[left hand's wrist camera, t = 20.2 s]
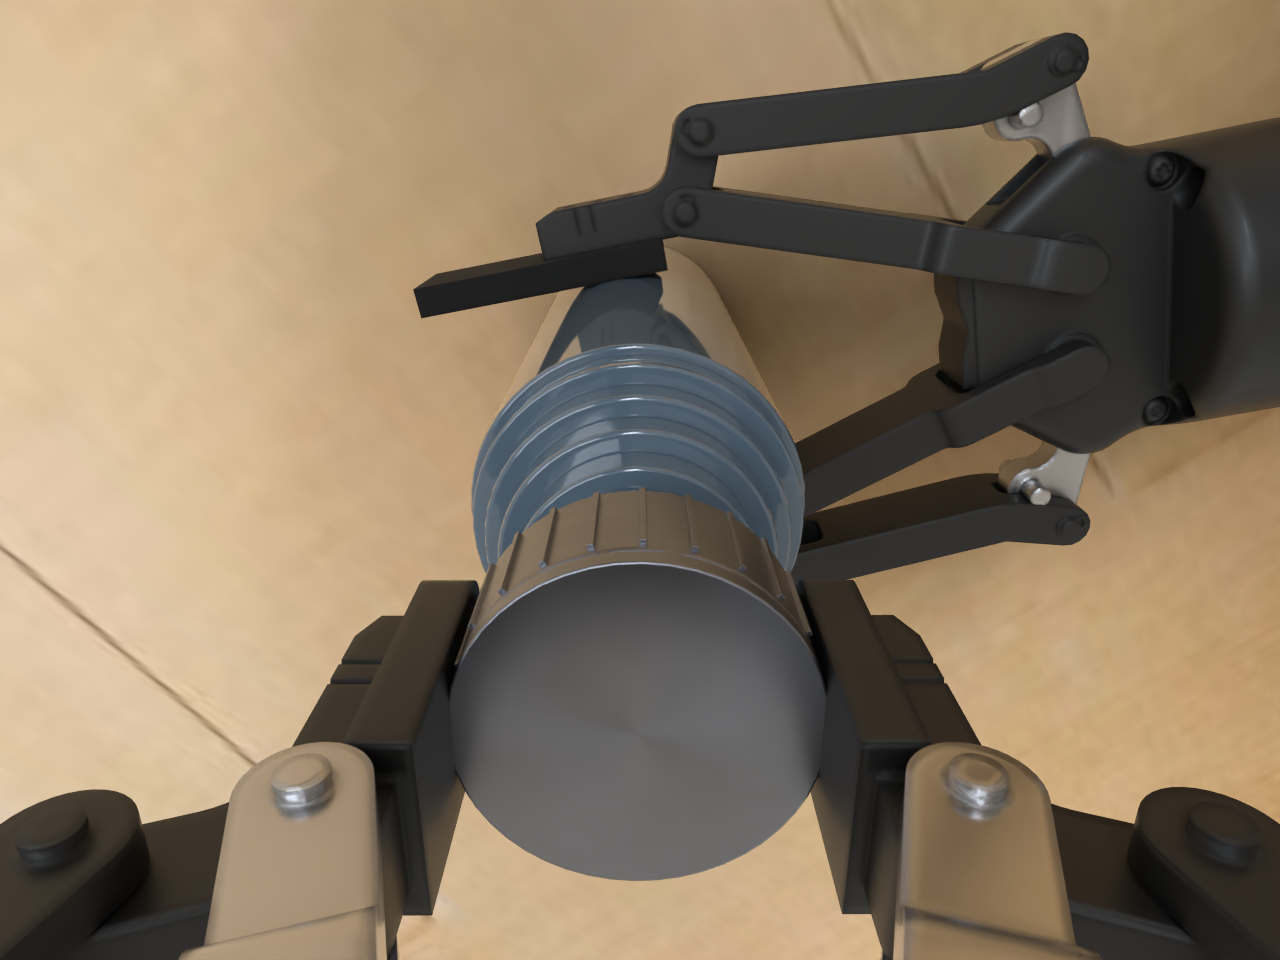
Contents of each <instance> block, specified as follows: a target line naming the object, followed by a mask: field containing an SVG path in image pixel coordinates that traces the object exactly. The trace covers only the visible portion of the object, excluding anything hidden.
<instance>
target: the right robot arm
mask: <svg viewBox="0 0 1280 960" xmlns="http://www.w3.org/2000/svg"><path fill="white" fill-rule="evenodd" d="M1088 60H1089V54H1088V47H1087V45H1086V43H1085V42H1084V40H1083V39H1082V38H1081V37H1079V36H1078V35H1076V34H1072V33H1062V34H1058V35H1054V36H1048V37H1044V38H1040V39H1036V40H1033V41H1029V42H1025V43H1021V44H1018V45H1015V46H1013V47H1011V48H1009V49H1007V50H1005V51H1003V52H1001V53H999V54H997V55H995V56H993V57H991V58H989V59H987V60H985V61H983V62H981V63H979V64H977V65H975V66H973V67H971V68H969V69H967V70H965V71H963V72H961V73H959V74H951V75H942V76H934V77H925V78H917V79H908V80H900V81H891V82H883V83H874V84H866V85H857V86H849V87H840V88H832V89H823V90H815V91H806V92H798V93H789V94H780V95H772V96H763V97H755V98H746V99H738V100H729V101H721V102H712V103H704V104H697V105H694V106H691V107H688V108H686V109H685V110H683V111H682V112H681V113H680V114H679V115H678V116H677V117H676V119H675V121H674V123H673V125H672V133H671V139H670V145H669V152H668V158H667V164H666V168H665V171H664V173H663V175H662V177H661V179H660V180H659V181H658V182H657V183H656V184H655V185H653V186H652V187H650V188H649V189H646V190H643V191H638V192H633V193H628V194H623V195H618V196H613V197H608V198H603V199H598V200H594V201H588V202H583V203H579V204H573V205H568V206H563V207H558V208H557V209H555V210H554V211H552V212H551V213H549V214H548V215H546V216H545V217H543V218H542V219H541V220H539V221H538V222H537V223H536V227H537V232H538V236H539V241H540V245H541V250H542V253H540V254H535V255H530V256H525V257H520V258H515V259H510V260H505V261H500V262H495V263H490V264H485V265H480V266H474V267H469V268H464V269H459V270H454V271H449V272H444V273H439V274H436V275H434V276H433V277H431V278H430V279H428V280H427V281H425V282H424V283H422V284H421V285H419V286H418V287H416V288H415V289H413V290H414V294H415V297H416V301H417V304H418V308H419V311H420V315H421V318H425V317H430V316H435V315H441V314H446V313H451V312H456V311H461V310H466V309H472V308H477V307H482V306H487V305H492V304H497V303H503V302H508V301H513V300H518V299H523V298H528V297H534V296H539V295H544V294H549V293H554V292H559V291H564V290H570V289H575V288H580V287H585V286H590V285H595V284H601V283H606V282H611V281H616V280H621V279H626V278H632V277H637V276H642V275H647V274H652V273H657V272H663V271H668V267H667V262H666V256H665V250H664V245H663V239H668V238H673V237H678V236H680V237H686V238H693V239H700V240H708V241H715V242H722V243H730V244H737V245H744V246H751V247H759V248H766V249H773V250H781V251H788V252H795V253H802V254H810V255H817V256H824V257H832V258H839V259H846V260H853V261H861V262H868V263H875V264H883V265H890V266H897V267H904V268H912V269H918V270H923V271H927V272H931V273H934V287H935V294H936V296H937V299H938V302H939V305H940V307H941V310H942V313H943V316H944V321H943V326H942V331H941V336H940V341H939V360H940V363H939V364H937V365H935V366H933V367H931V368H929V369H927V370H925V371H923V372H921V373H919V374H917V375H916V376H914V377H913V378H912V379H910V380H909V382H908V384H907V385H906V386H905V387H904V388H903V389H901V390H899V391H897V392H895V393H893V394H891V395H889V396H887V397H885V398H883V399H881V400H879V401H877V402H875V403H874V404H872V405H870V406H868V407H866V408H864V409H862V410H860V411H858V412H856V413H854V414H852V415H850V416H848V417H846V418H844V419H842V420H840V421H838V422H836V423H834V424H832V425H830V426H828V427H826V428H825V429H823V430H821V431H819V432H817V433H815V434H813V435H811V436H809V437H807V438H805V439H803V440H801V441H799V442H797V443H795V446H796V449H797V452H798V455H799V458H800V462H801V465H802V471H803V477H804V484H805V510H804V517H803V529H802V537H801V543H800V547H799V551H798V554H797V558H796V561H795V564H794V566H793V568H792V571H791V574H792V577H793V579H794V582H795V585H796V588H797V584H798V582H799V580H846V579H851V578H855V577H859V576H863V575H867V574H872V573H876V572H880V571H884V570H888V569H892V568H897V567H901V566H905V565H909V564H913V563H917V562H922V561H926V560H930V559H934V558H938V557H943V556H947V555H951V554H955V553H959V552H963V551H968V550H972V549H976V548H980V547H984V546H989V545H993V544H997V543H1001V542H1005V541H1010V542H1024V543H1038V544H1051V545H1072V544H1074V543H1076V542H1078V541H1080V540H1081V539H1082V538H1083V537H1084V536H1086V534H1087V532H1088V530H1089V528H1090V519H1089V517H1088V514H1087V513H1086V512H1085V511H1083V510H1082V509H1081V508H1080V507H1079V506H1077V499H1078V496H1079V492H1080V489H1081V485H1082V481H1083V478H1084V474H1085V471H1086V467H1087V464H1088V460H1089V457H1090V453H1094V452H1098V451H1100V450H1103V449H1105V448H1107V447H1109V446H1110V445H1112V444H1113V443H1115V442H1116V441H1117V440H1119V439H1120V438H1122V437H1124V436H1125V435H1127V434H1129V433H1131V432H1133V431H1135V430H1138V429H1140V428H1143V427H1148V426H1155V425H1168V424H1179V423H1188V422H1195V421H1201V420H1206V419H1212V418H1218V417H1224V416H1229V415H1235V414H1241V413H1246V412H1252V411H1258V410H1263V409H1269V408H1275V407H1280V118H1273V119H1268V120H1263V121H1258V122H1253V123H1248V124H1242V125H1237V126H1232V127H1227V128H1222V129H1217V130H1212V131H1207V132H1202V133H1197V134H1192V135H1187V136H1182V137H1177V138H1172V139H1166V140H1161V141H1156V142H1151V143H1146V144H1141V145H1136V146H1124V145H1121V144H1118V143H1115V142H1113V141H1110V140H1108V139H1104V138H1099V137H1091V136H1090V132H1089V129H1088V125H1087V122H1086V118H1085V115H1084V111H1083V108H1082V104H1081V101H1080V97H1079V94H1078V90H1077V86H1076V83H1075V82H1076V81H1078V80H1079V79H1080V78H1081V76H1082V75H1083V73H1084V72H1085V70H1086V67H1087V64H1088ZM980 124H982V125H983V128H984V130H985V132H986V133H987V134H988V135H989V136H990V137H991V138H993V139H995V140H1000V141H1019V140H1024V139H1025V140H1027V141H1029V142H1030V143H1031V144H1032V145H1033V146H1034V147H1035V149H1036V151H1037V154H1036V155H1035V156H1034V157H1033V158H1032V159H1031V160H1030V161H1029V162H1028V163H1027V164H1026V165H1025V166H1024V167H1023V168H1022V169H1021V170H1020V171H1019V172H1018V173H1017V174H1016V175H1015V176H1014V177H1013V178H1011V179H1010V180H1009V181H1008V182H1007V183H1006V184H1005V185H1004V186H1003V187H1002V188H1001V189H1000V190H999V191H998V192H997V193H996V194H995V195H994V196H993V197H992V198H991V199H990V200H989V201H988V202H987V203H986V204H984V205H983V206H982V207H981V208H980V209H979V210H978V211H977V212H976V213H975V214H974V215H973V216H972V217H971V218H970V219H969V220H968V221H962V220H955V219H948V218H941V217H933V216H926V215H919V214H911V213H899V212H892V211H885V210H878V209H871V208H864V207H856V206H849V205H842V204H835V203H828V202H821V201H814V200H806V199H799V198H792V197H785V196H778V195H771V194H764V193H757V192H749V191H742V190H735V189H728V188H721V187H714V186H713V182H714V176H715V171H716V165H717V160H718V155H727V154H735V153H744V152H753V151H761V150H770V149H779V148H787V147H796V146H805V145H814V144H822V143H831V142H840V141H848V140H857V139H866V138H875V137H883V136H892V135H901V134H909V133H918V132H927V131H935V130H944V129H953V128H962V127H968V126H974V125H980ZM1010 425H1012V426H1014V427H1016V428H1018V429H1020V430H1022V431H1024V432H1026V433H1028V434H1030V435H1032V436H1034V437H1036V438H1039V439H1041V440H1043V442H1042V445H1041V446H1040V448H1039V449H1038V450H1037V451H1036V452H1035V453H1033V454H1032V455H1030V456H1027V457H1024V458H1018V459H1014V460H1006V461H1004V462H1003V463H1002V464H1001V465H1000V468H999V474H991V473H985V474H974V475H967V476H962V477H957V478H952V479H948V480H944V481H940V482H936V483H932V484H928V485H924V486H920V487H916V488H912V489H908V490H904V491H900V492H896V493H892V494H888V495H884V496H880V497H876V498H872V499H868V500H864V501H860V502H856V503H852V504H848V505H844V506H839V507H835V508H831V509H827V510H823V511H819V512H816V511H818V510H821V509H823V508H825V507H827V506H829V505H831V504H833V503H835V502H837V501H839V500H841V499H843V498H845V497H847V496H849V495H851V494H853V493H855V492H857V491H859V490H861V489H863V488H865V487H867V486H869V485H871V484H873V483H875V482H877V481H879V480H881V479H884V478H886V477H888V476H890V475H892V474H894V473H896V472H898V471H900V470H902V469H904V468H906V467H908V466H910V465H912V464H914V463H916V462H918V461H920V460H922V459H924V458H926V457H928V456H930V455H932V454H934V453H936V452H938V451H940V450H943V449H945V448H960V447H965V446H968V445H971V444H973V443H975V442H977V441H979V440H981V439H983V438H985V437H987V436H989V435H992V434H994V433H996V432H998V431H1000V430H1002V429H1004V428H1006V427H1008V426H1010ZM814 512H815V513H814Z"/></svg>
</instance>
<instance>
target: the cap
mask: <svg viewBox="0 0 1280 960" xmlns="http://www.w3.org/2000/svg"><path fill="white" fill-rule="evenodd" d="M810 636H813V634H812V631H811V628H810V625H809V622H808V619H807V617H806V614H805V611H804V608H803V605H802V602H801V599H800V597H799V594H798V591H797V588H796V585H795V582H794V579H793V577H792V574H791V572H790V570H789V569H788V570H786V571H785V570H784V568H783V567H782V565H781V564H780V562H779V561H778V559H777V558H776V556H775V555H774V553H773V552H772V551H771V550H770V547H769V544H768V541H767V539H766V538H765V537H762V538H761V539H760V538H759V537H758V536H757V535H756V534H755V533H753V532H752V531H751V530H750V529H749V528H748V527H747V526H745V525H744V524H742V523H741V522H739V521H738V520H736V519H735V518H734V514H733V513H732V512H730V511H728V512H727V513H725V512H724V511H721V510H719V509H717V508H715V507H712V506H710V505H708V504H705V503H703V502H700V501H697V500H694V499H692V495H689V494H686V495H685V497H684V496H679V495H675V494H672V493H666V492H651V491H646V488H639V491H623V492H614V493H605V494H600V493H599V492H596V493H593V497H589V498H586V499H583V500H579V501H576V502H573V503H571V504H569V505H566V506H564V507H562V508H560V509H557V508H556V507H554V508H552V509H550V513H549V514H548V515H546V516H544V517H543V518H542V519H540V520H538V521H537V522H535V523H534V524H533V525H532V526H530V527H529V528H528V529H527V530H525V531H524V532H523V533H520V532H519V531H518V532H517V533H516V534H515V535H514V538H513V542H512V544H511V545H510V546H509V547H508V548H507V549H506V550H505V551H504V553H503V554H502V556H501V557H500V558H499V560H498V561H497V563H496V564H493V563H491V564H490V566H489V567H488V570H487V573H486V576H485V579H484V582H483V584H482V587H481V590H480V593H479V596H478V599H477V601H476V604H475V607H474V610H473V613H472V616H471V619H470V621H469V624H468V627H467V631H466V634H465V636H464V639H463V642H462V645H461V648H460V651H459V654H458V656H457V659H456V662H455V672H454V675H453V678H452V681H451V684H450V687H449V707H450V718H451V728H452V739H453V750H454V760H455V769H456V773H457V776H458V778H459V780H460V782H461V784H462V786H463V788H464V790H465V792H466V793H467V795H468V796H469V798H470V799H471V801H472V802H473V804H474V805H475V807H476V808H477V809H478V810H479V811H480V812H481V814H482V815H483V816H484V817H485V818H486V819H487V820H488V821H489V823H490V824H491V825H493V826H494V827H495V828H496V829H497V830H498V831H499V832H501V833H502V834H503V835H504V836H505V837H506V838H508V839H509V840H511V841H512V842H513V843H515V844H516V845H518V846H519V847H521V848H522V849H524V850H525V851H527V852H529V853H531V854H533V855H535V856H536V857H538V858H540V859H542V860H544V861H546V862H549V863H551V864H554V865H556V866H559V867H561V868H564V869H567V870H570V871H574V872H578V873H581V874H585V875H589V876H595V877H600V878H606V879H614V880H629V881H645V880H662V879H669V878H677V877H682V876H686V875H691V874H695V873H699V872H703V871H706V870H709V869H711V868H714V867H717V866H720V865H723V864H725V863H727V862H729V861H731V860H734V859H736V858H738V857H740V856H742V855H744V854H746V853H747V852H749V851H750V850H752V849H754V848H755V847H757V846H758V845H760V844H762V843H763V842H764V841H766V840H767V839H768V838H769V837H771V836H772V835H773V834H774V833H776V832H777V831H778V830H779V829H780V828H781V827H782V826H783V825H784V824H785V823H786V822H787V821H788V820H789V819H790V818H791V817H792V816H793V815H794V814H795V813H796V812H797V810H798V809H799V807H800V806H801V805H802V803H803V802H804V801H805V799H806V798H807V797H808V795H809V793H810V791H811V789H812V788H813V786H814V784H815V782H816V780H817V779H818V776H819V770H820V761H821V750H822V739H823V728H824V717H825V706H826V693H827V690H826V685H825V681H824V677H823V674H822V671H821V668H820V665H819V662H818V660H817V656H816V653H815V650H814V647H813V645H812V642H811V639H810Z"/></svg>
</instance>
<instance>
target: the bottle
mask: <svg viewBox="0 0 1280 960" xmlns="http://www.w3.org/2000/svg"><path fill="white" fill-rule="evenodd" d="M664 250H665V256H666V262H667V267H668V271H663V272H657V273H652V274H647V275H642V276H637V277H632V278H626V279H621V280H616V281H611V282H606V283H601V284H595V285H590V286H585V287H580V288H575V289H570V290H564V291H559V292H558V294H557V296H556V298H555V300H554V302H553V304H552V306H551V308H550V310H549V312H548V314H547V316H546V318H545V319H544V321H543V323H542V325H541V327H540V329H539V331H538V333H537V335H536V337H535V339H534V341H533V343H532V345H531V347H530V349H529V351H528V353H527V355H526V357H525V359H524V360H523V362H522V364H521V366H520V368H519V370H518V372H517V374H516V376H515V378H514V380H513V382H512V384H511V386H510V388H509V390H508V392H507V394H506V396H505V398H504V399H503V401H502V403H501V405H500V407H499V409H498V411H497V413H496V415H495V417H494V419H493V421H492V423H491V425H490V427H489V429H488V431H487V433H486V435H485V438H484V440H483V442H482V445H481V447H480V449H479V452H478V456H477V460H476V463H475V467H474V471H473V480H472V488H471V503H472V516H473V529H474V535H475V541H476V547H477V550H478V553H479V557H480V560H481V563H482V566H483V568H484V570H485V572H486V573H487V570H488V567H489V566H490V564H491V563H493V564H496V563H497V561H498V560H499V558H500V557H501V556H502V554H503V553H504V551H505V550H506V549H507V548H508V547H509V546H510V545H511V544H512V542H513V538H514V535H515V534H516V533H517V532H518V531H519V532H520V533H523V532H524V531H525V530H527V529H528V528H529V527H530V526H532V525H533V524H534V523H535V522H537V521H538V520H540V519H542V518H543V517H544V516H546V515H548V514H549V513H550V509H552V508H554V507H556V508H557V509H560V508H562V507H564V506H566V505H569V504H571V503H573V502H576V501H579V500H583V499H586V498H589V497H593V493H596V492H599V493H600V494H605V493H614V492H623V491H639V488H646V491H651V492H666V493H672V494H675V495H679V496H684V497H685V495H686V494H689V495H692V499H694V500H697V501H700V502H703V503H705V504H708V505H710V506H712V507H715V508H717V509H719V510H721V511H724V512H725V513H727V512H728V511H730V512H732V513H733V514H734V518H735V519H736V520H738V521H739V522H741V523H742V524H744V525H745V526H747V527H748V528H749V529H750V530H751V531H752V532H753V533H755V534H756V535H757V536H758V537H759V538H760V539H761V538H762V537H765V538H766V539H767V541H768V544H769V547H770V550H771V551H772V552H773V553H774V555H775V556H776V558H777V559H778V561H779V562H780V564H781V565H782V567H783V568H784V570H785V571H786V570H788V569H789V570H790V572H791V571H792V568H793V566H794V564H795V561H796V558H797V554H798V551H799V547H800V543H801V537H802V529H803V517H804V510H805V484H804V477H803V471H802V465H801V462H800V458H799V455H798V452H797V449H796V446H795V443H794V441H793V439H792V437H791V435H790V433H789V431H788V429H787V427H786V425H785V423H784V421H783V419H782V417H781V415H780V413H779V411H778V409H777V407H776V405H775V403H774V401H773V399H772V397H771V395H770V393H769V391H768V389H767V387H766V385H765V383H764V381H763V379H762V378H761V376H760V374H759V372H758V370H757V368H756V366H755V364H754V362H753V360H752V358H751V356H750V354H749V352H748V350H747V348H746V346H745V344H744V342H743V340H742V338H741V336H740V334H739V332H738V331H737V329H736V327H735V325H734V323H733V321H732V319H731V317H730V315H729V313H728V311H727V309H726V307H725V305H724V303H723V301H722V299H721V297H720V295H719V293H718V291H717V289H716V287H715V286H714V284H713V283H712V281H711V280H710V278H709V277H708V276H707V275H706V274H705V272H704V271H703V270H702V269H701V268H700V267H699V266H698V265H697V264H695V263H694V262H693V261H692V260H690V259H689V258H687V257H686V256H684V255H683V254H681V253H679V252H677V251H675V250H673V249H670V248H667V247H664Z"/></svg>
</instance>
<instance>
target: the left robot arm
mask: <svg viewBox="0 0 1280 960" xmlns="http://www.w3.org/2000/svg"><path fill="white" fill-rule="evenodd" d="M797 591H798V594H799V597H800V599H801V602H802V605H803V608H804V611H805V614H806V617H807V619H808V622H809V625H810V628H811V631H812V634H813V636H810V639H811V642H812V645H813V647H814V650H815V653H816V656H817V660H818V662H819V665H820V668H821V671H822V674H823V677H824V681H825V685H826V690H827V693H826V706H825V717H824V728H823V739H822V750H821V761H820V770H819V776H818V779H817V780H816V782H815V784H814V786H813V788H812V789H811V791H810V792H811V795H812V799H813V803H814V807H815V811H816V815H817V819H818V822H819V826H820V830H821V834H822V838H823V842H824V846H825V849H826V853H827V857H828V861H829V865H830V869H831V873H832V877H833V880H834V884H835V888H836V892H837V896H838V900H839V904H840V907H841V911H842V914H872V918H873V921H874V925H875V928H876V931H877V935H878V938H879V941H880V944H881V947H882V950H881V957H880V960H1280V824H1279V823H1277V822H1276V821H1274V820H1273V819H1272V818H1270V817H1269V816H1267V815H1266V814H1264V813H1262V812H1260V811H1259V810H1257V809H1255V808H1253V807H1252V806H1249V805H1247V804H1245V803H1243V802H1241V801H1239V800H1236V799H1233V798H1231V797H1228V796H1225V795H1222V794H1219V793H1215V792H1212V791H1208V790H1202V789H1197V788H1188V787H1170V788H1164V789H1159V790H1157V791H1154V792H1152V793H1150V794H1149V795H1147V796H1146V797H1145V798H1144V799H1143V800H1142V801H1141V803H1140V806H1139V808H1138V812H1137V816H1136V820H1135V823H1134V824H1132V823H1128V822H1123V821H1119V820H1114V819H1110V818H1105V817H1101V816H1096V815H1092V814H1087V813H1083V812H1079V811H1074V810H1070V809H1067V808H1063V807H1060V806H1057V805H1054V804H1051V801H1050V797H1049V794H1048V791H1047V789H1046V788H1045V786H1044V784H1043V783H1042V781H1041V780H1040V779H1039V778H1038V777H1037V775H1036V774H1034V773H1033V772H1032V771H1031V770H1030V769H1029V768H1028V767H1026V766H1025V765H1024V764H1022V763H1021V762H1019V761H1018V760H1016V759H1014V758H1012V757H1011V756H1009V755H1007V754H1005V753H1002V752H1000V751H998V750H995V749H992V748H989V747H986V746H982V745H981V744H980V742H979V740H978V738H977V737H976V735H975V733H974V731H973V729H972V728H971V726H970V724H969V722H968V720H967V719H966V717H965V715H964V713H963V711H962V710H961V708H960V706H959V704H958V703H957V701H956V699H955V697H954V695H953V694H952V692H951V690H950V688H949V686H948V685H947V683H944V677H943V676H942V674H941V672H940V670H939V669H938V667H937V665H936V664H933V658H932V656H931V654H930V652H929V651H928V649H927V647H926V645H925V644H924V642H923V640H922V638H921V636H920V635H919V634H917V633H916V632H915V631H914V630H912V629H911V628H910V627H908V626H907V625H906V624H904V623H903V622H902V621H900V620H899V619H898V618H896V617H895V616H894V615H871V614H870V612H869V610H868V608H867V606H866V604H865V602H864V600H863V598H862V596H861V593H860V591H859V589H858V587H857V585H856V583H855V582H854V581H853V580H799V582H798V584H797ZM479 593H480V592H479V587H478V584H477V582H476V581H475V580H471V581H422V582H421V583H420V584H419V586H418V588H417V590H416V592H415V594H414V596H413V599H412V601H411V603H410V605H409V607H408V609H407V611H406V613H405V615H404V616H381V617H380V618H378V619H377V620H376V621H374V622H373V623H372V624H370V625H369V626H368V627H366V628H365V629H364V630H362V631H361V632H360V633H359V634H357V635H356V636H355V637H354V639H353V641H352V642H351V644H350V646H349V648H348V649H347V651H346V653H345V655H344V656H343V658H342V663H341V664H339V665H338V667H337V669H336V670H335V672H334V674H333V676H332V678H331V679H330V680H331V682H330V684H328V685H327V686H326V688H325V690H324V692H323V693H322V695H321V697H320V699H319V700H318V702H317V704H316V706H315V707H314V709H313V711H312V713H311V714H310V716H309V718H308V720H307V722H306V723H305V725H304V727H303V729H302V730H301V732H300V734H299V736H298V737H297V739H296V741H295V743H294V744H293V746H292V747H291V748H288V749H285V750H282V751H280V752H278V753H275V754H273V755H271V756H269V757H268V758H266V759H264V760H262V761H261V762H259V763H258V764H256V765H255V766H254V767H252V768H251V769H250V770H249V771H248V772H247V773H246V774H244V775H243V777H242V778H241V779H240V780H239V781H238V783H237V784H236V786H235V788H234V789H233V791H232V794H231V797H230V801H229V802H228V803H226V804H223V805H220V806H217V807H214V808H211V809H208V810H204V811H200V812H196V813H192V814H187V815H183V816H178V817H174V818H169V819H165V820H160V821H156V822H151V823H147V824H142V823H141V819H140V815H139V811H138V809H137V806H136V804H135V803H134V802H133V800H132V799H131V798H129V797H128V796H126V795H124V794H122V793H119V792H116V791H110V790H84V791H77V792H72V793H67V794H63V795H60V796H56V797H53V798H50V799H47V800H45V801H42V802H39V803H37V804H35V805H33V806H31V807H28V808H26V809H24V810H22V811H21V812H19V813H17V814H15V815H14V816H12V817H10V818H9V819H7V820H6V821H4V822H3V823H1V824H0V960H400V957H399V950H398V943H397V932H398V928H399V925H400V922H401V919H402V915H432V913H433V910H434V906H435V902H436V898H437V895H438V891H439V887H440V883H441V880H442V876H443V872H444V868H445V864H446V861H447V857H448V853H449V849H450V846H451V842H452V838H453V834H454V831H455V827H456V823H457V819H458V816H459V812H460V808H461V804H462V800H463V797H464V793H465V790H464V788H463V786H462V784H461V782H460V780H459V778H458V776H457V773H456V769H455V760H454V750H453V739H452V728H451V718H450V707H449V687H450V684H451V681H452V678H453V675H454V672H455V662H456V659H457V656H458V654H459V651H460V648H461V645H462V642H463V639H464V636H465V634H466V631H467V627H468V624H469V621H470V619H471V616H472V613H473V610H474V607H475V604H476V601H477V599H478V596H479Z"/></svg>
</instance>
